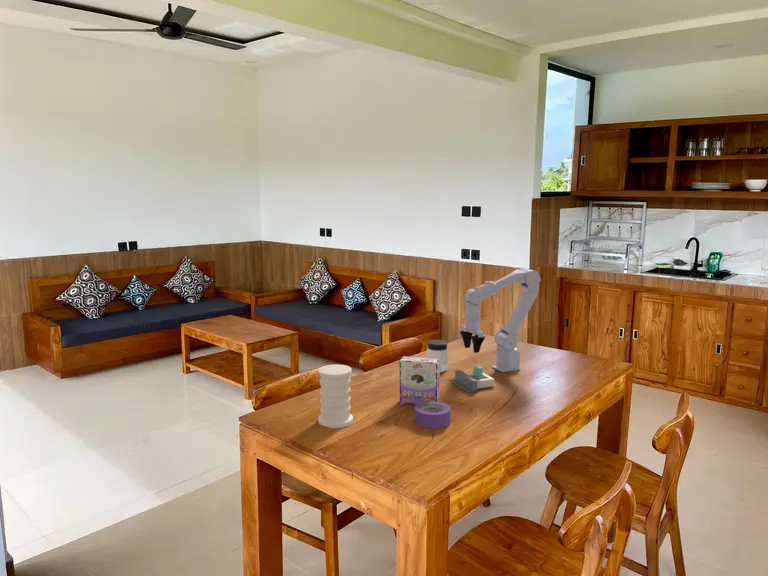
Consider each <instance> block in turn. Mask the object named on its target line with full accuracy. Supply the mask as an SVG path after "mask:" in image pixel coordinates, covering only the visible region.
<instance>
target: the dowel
mask: <svg viewBox="0 0 768 576" xmlns="http://www.w3.org/2000/svg"><path fill="white" fill-rule="evenodd" d="M483 373H484V367H482V366H478V365H477V366H473V378H474V379H476V380H480V379H483Z"/></svg>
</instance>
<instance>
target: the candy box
mask: <svg viewBox="0 0 768 576" xmlns="http://www.w3.org/2000/svg"><path fill="white" fill-rule="evenodd" d="M398 363H399V404H401V405H414V406H416V405H418V404H420V403H423V402H440V376H441V375H440V359H436V358H427V357H420V356H407V355H405V356H402V357H401V359H400V360H399V362H398Z"/></svg>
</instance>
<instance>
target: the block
mask: <svg viewBox="0 0 768 576" xmlns="http://www.w3.org/2000/svg"><path fill="white" fill-rule="evenodd" d="M466 374H467V375H469V376H471V377H472V378H473V373H466ZM493 387H495V378H493V377H492V376H490V375H489V374H486V373H485V372H483V379H480V380H477V390H478V389H484V388H486V389H487V388H493Z"/></svg>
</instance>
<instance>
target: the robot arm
mask: <svg viewBox="0 0 768 576" xmlns="http://www.w3.org/2000/svg"><path fill="white" fill-rule="evenodd" d="M541 279H542V278H541V277H540V274H539V272H538V271H537V270H534V269H530V268H527V267H520V268H518V269H515V270H514V271H512V272H511V273H509V274H507V275H505V276H503V277H502V278H500V279H497V280H496V281H493V280H486V281H484V283H483V284H481V285H479V286H477V285H476V286H474V288H469V289H467V290H466V292H465V293H464V295H463V299H464V300H465V305H466V306H465V324H461V331H459V333H460V336H461V337H462V341H463V347H464V348H465V349H470V348H471V344H472V348H473V353H474V354H478V353H480V351H481V346H482V344H483V342H484V340H485V339H486V336H485V335H484V332H483V331H482V330H481V328H480V322H481V319H480V317H481V316H480V315H481V304H482V302H483V300H485V299H487V298H489V297H492V296H494V295H495V294H497V292H498V290H500V289H502V288H505V287H507V286H510V285H513V284H515V283H517V284H520V285H521V287H522V290H523V294H522V295H521V297H520V299H519V301H518V303H517V305H516V306H515V308H514V310H513V312H512V313H511V316H510V317H509V319H508V322H507V323H506V324H505V325H504V326H502V327H501V328H500V330H498V331H497V332H496V333H495V335H494V342H495V344H496V354H495V355H496V358H495V365H492V366H491V368H492V369H495V370H496V371H499V372H501V373H507V372H513V371H520V370H521V367H520V366H521V365H520V364H521V353H520V350H519V348H517V346H518V339H519V337H520V335H519V333H520V332H519V330H520V328H521V326H522V324H523V322H524V321H525V319H526V317H527V316H528V314H529V311H530V310H531V308H532V306H533V304H534V302H535V301H536V299H537V296H538V295H539V291H540V282H541V281H542V280H541Z"/></svg>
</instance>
